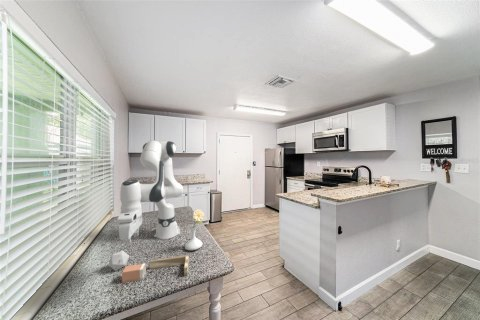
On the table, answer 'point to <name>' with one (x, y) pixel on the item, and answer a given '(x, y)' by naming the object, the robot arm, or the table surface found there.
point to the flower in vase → (194, 242)
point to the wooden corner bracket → (171, 262)
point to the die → (118, 260)
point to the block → (133, 272)
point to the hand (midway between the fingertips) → (132, 240)
